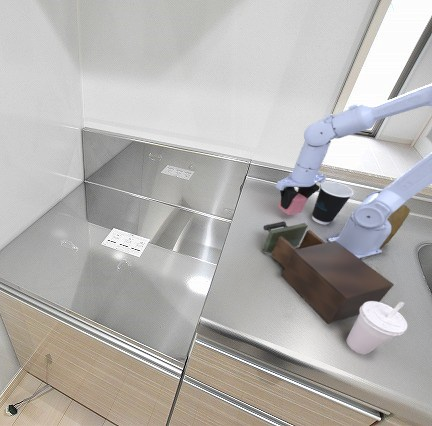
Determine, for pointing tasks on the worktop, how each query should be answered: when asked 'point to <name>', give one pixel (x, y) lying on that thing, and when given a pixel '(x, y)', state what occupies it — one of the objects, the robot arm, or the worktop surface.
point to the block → (295, 205)
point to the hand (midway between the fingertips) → (291, 205)
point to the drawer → (288, 240)
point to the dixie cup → (330, 201)
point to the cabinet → (334, 280)
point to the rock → (396, 221)
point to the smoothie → (375, 326)
